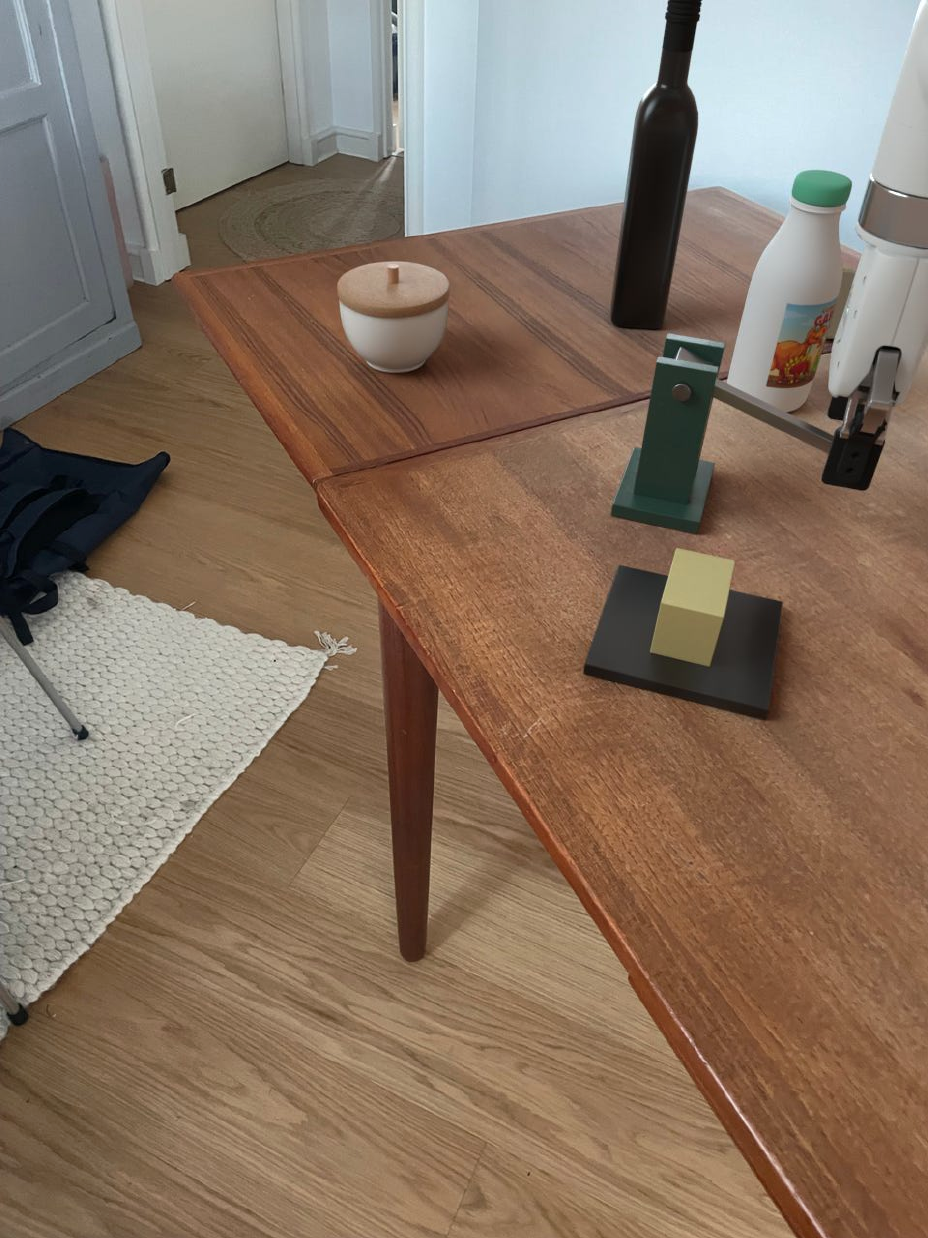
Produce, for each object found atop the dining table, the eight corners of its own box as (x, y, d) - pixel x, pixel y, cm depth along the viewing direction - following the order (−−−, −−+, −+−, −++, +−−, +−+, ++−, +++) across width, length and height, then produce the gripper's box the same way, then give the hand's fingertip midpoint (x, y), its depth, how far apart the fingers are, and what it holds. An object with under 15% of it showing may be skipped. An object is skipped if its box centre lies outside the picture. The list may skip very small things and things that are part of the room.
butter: (721, 609, 66) (735, 560, 63) (709, 667, 62) (724, 617, 59) (665, 596, 67) (676, 547, 64) (649, 652, 63) (661, 602, 60)
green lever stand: (712, 474, 80) (746, 333, 71) (697, 534, 74) (732, 389, 65) (632, 458, 82) (655, 318, 73) (610, 516, 75) (633, 371, 67)
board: (779, 611, 67) (783, 601, 67) (765, 720, 60) (769, 710, 59) (616, 574, 70) (618, 563, 69) (582, 674, 62) (584, 663, 62)
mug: (843, 304, 106) (894, 245, 97) (828, 374, 103) (879, 320, 93) (782, 282, 106) (827, 220, 96) (765, 351, 103) (810, 294, 93)
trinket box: (349, 389, 89) (342, 293, 83) (336, 337, 97) (329, 247, 91) (458, 379, 91) (460, 285, 85) (438, 330, 99) (438, 240, 92)
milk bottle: (726, 410, 88) (780, 188, 74) (723, 371, 93) (773, 158, 80) (810, 419, 87) (880, 196, 73) (802, 379, 93) (866, 165, 79)
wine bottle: (660, 308, 104) (716, -14, 83) (663, 331, 100) (722, -2, 79) (609, 304, 104) (652, -17, 84) (610, 327, 100) (655, -5, 80)
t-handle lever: (843, 449, 73) (861, 425, 71) (840, 484, 69) (860, 460, 68) (668, 364, 73) (683, 338, 71) (657, 394, 69) (672, 367, 68)
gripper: (863, 167, 65) (801, 390, 77) (858, 253, 53) (785, 503, 64) (978, 179, 64) (897, 406, 75) (1001, 271, 51) (900, 525, 63)
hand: (845, 451), depth 70 cm, fingers open, 9 cm apart
